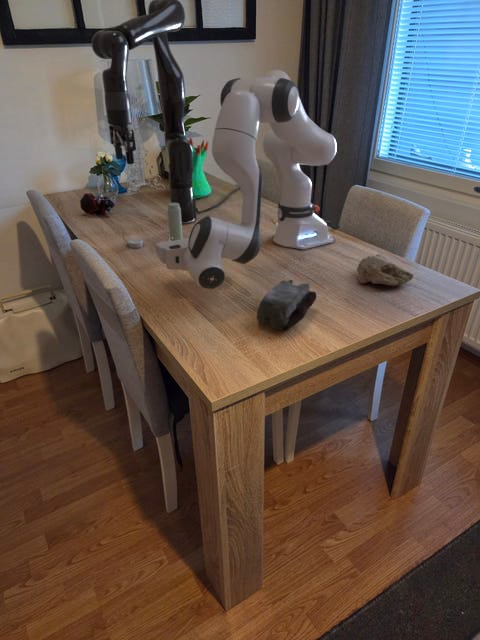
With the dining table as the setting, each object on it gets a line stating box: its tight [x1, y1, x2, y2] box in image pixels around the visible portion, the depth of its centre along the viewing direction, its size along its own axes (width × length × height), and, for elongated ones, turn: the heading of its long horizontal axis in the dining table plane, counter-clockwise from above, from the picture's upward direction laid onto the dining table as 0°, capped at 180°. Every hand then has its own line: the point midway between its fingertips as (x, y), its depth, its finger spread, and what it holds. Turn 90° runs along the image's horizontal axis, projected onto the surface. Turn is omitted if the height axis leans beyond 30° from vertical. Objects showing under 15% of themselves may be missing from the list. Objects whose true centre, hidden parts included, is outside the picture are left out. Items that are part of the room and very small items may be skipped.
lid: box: [127, 237, 144, 249], centre depth 162 cm, size 5×5×2 cm
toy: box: [79, 192, 117, 218], centre depth 189 cm, size 12×9×15 cm
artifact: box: [356, 254, 414, 286], centre depth 138 cm, size 18×7×15 cm
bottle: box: [167, 202, 184, 241], centre depth 149 cm, size 4×4×18 cm
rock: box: [256, 279, 317, 332], centre depth 117 cm, size 18×11×8 cm, turn 152°
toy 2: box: [168, 137, 212, 200], centre depth 210 cm, size 20×20×25 cm
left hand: (125, 161), depth 147 cm, fingers open, 8 cm apart
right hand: (185, 238), depth 138 cm, fingers open, 8 cm apart
